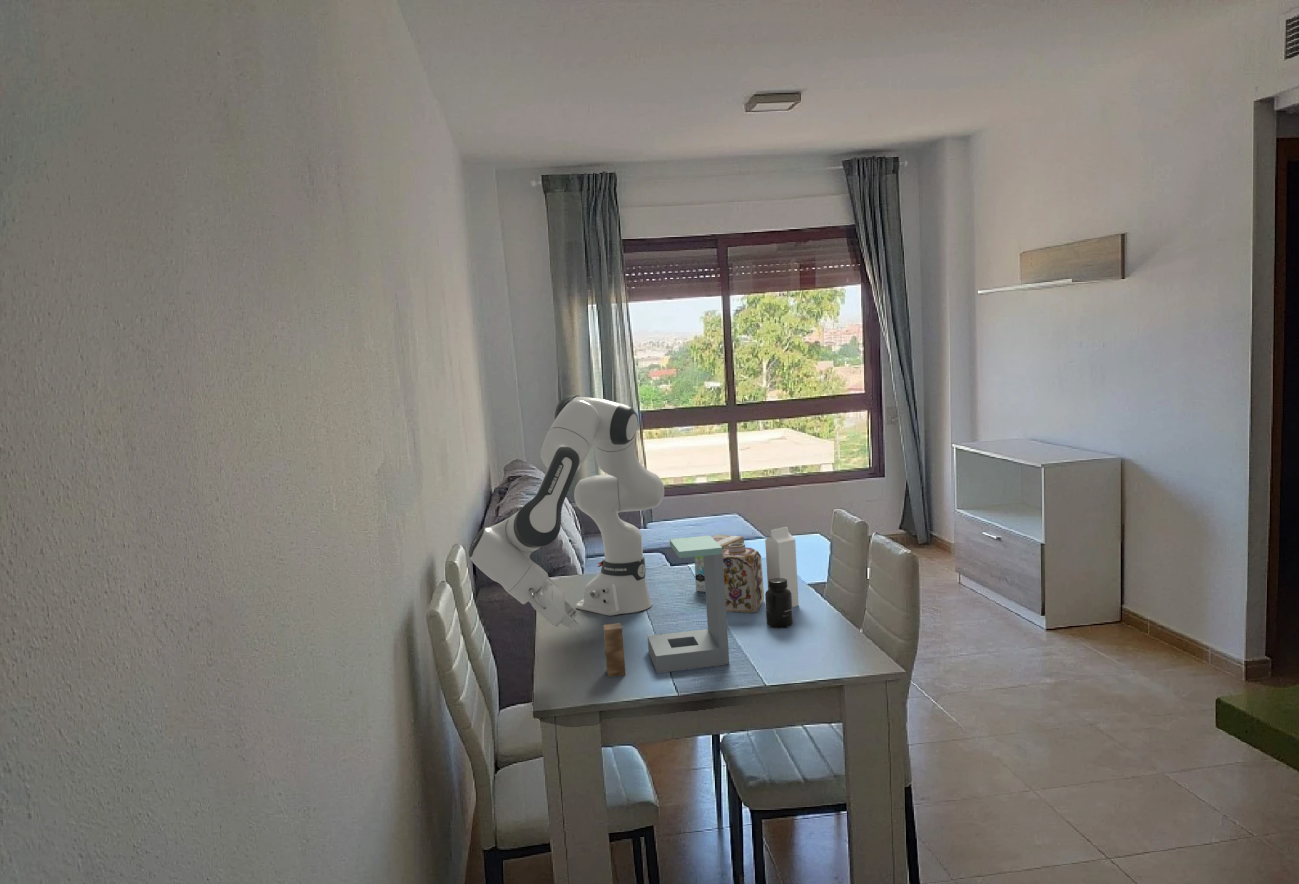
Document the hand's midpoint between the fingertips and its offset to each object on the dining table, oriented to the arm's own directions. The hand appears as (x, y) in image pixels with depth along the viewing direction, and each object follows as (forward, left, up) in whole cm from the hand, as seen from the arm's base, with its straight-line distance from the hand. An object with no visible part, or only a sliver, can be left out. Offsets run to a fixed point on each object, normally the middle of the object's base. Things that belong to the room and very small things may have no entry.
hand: (576, 621), depth 201 cm
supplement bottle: (+27, +50, -13) cm, 59 cm away
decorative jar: (+10, +61, -13) cm, 63 cm away
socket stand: (+16, +19, -13) cm, 28 cm away
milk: (+21, +66, -13) cm, 71 cm away
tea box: (-5, +78, -13) cm, 79 cm away
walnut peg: (+6, +5, -13) cm, 15 cm away
